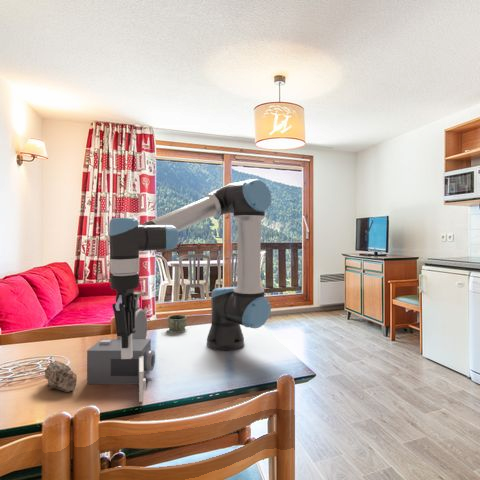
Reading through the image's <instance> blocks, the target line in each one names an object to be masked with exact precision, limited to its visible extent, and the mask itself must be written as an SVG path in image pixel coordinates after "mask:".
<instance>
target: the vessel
mask: <svg viewBox="0 0 480 480" xmlns="http://www.w3.org/2000/svg"><path fill="white" fill-rule="evenodd" d="M187 324H188V323H187V315H184V314H171V315H168V316H167V324H166V325H167V327H168V328H169V329H168V332H170V333H175V334H177V333H182V332H183V333H184V332H185V331H186V327H187Z"/></svg>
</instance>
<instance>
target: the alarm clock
mask: <svg viewBox="0 0 480 480" xmlns="http://www.w3.org/2000/svg"><path fill="white" fill-rule="evenodd" d="M133 330H136V332H135V333H131V334H132V339H147V335H148V334H147V332H148V318H147V314H146V311H145V310H144V309H143V308H140V306H138V307H136V314H135V328H134V329H133ZM116 339H121V336H117V335H116Z"/></svg>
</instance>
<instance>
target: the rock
mask: <svg viewBox="0 0 480 480" xmlns="http://www.w3.org/2000/svg"><path fill="white" fill-rule="evenodd" d="M77 375H78V374H76V372H74V371H73V370H72V369H71V367H70V366H68V365H66V364H65V363H62V362H60V361H57V360H54V361H51V362H50V363H49V364H48V366H46V368H45V370H44V379H46V380H47V388H48V389H51V390H58V391H62V392H64V393H68V392H71V391H75V389H76V386H77V381H78V380H77V379H78V378H77Z"/></svg>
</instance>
